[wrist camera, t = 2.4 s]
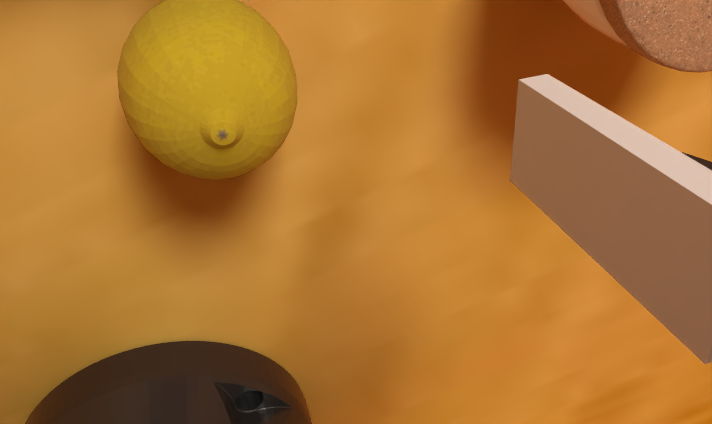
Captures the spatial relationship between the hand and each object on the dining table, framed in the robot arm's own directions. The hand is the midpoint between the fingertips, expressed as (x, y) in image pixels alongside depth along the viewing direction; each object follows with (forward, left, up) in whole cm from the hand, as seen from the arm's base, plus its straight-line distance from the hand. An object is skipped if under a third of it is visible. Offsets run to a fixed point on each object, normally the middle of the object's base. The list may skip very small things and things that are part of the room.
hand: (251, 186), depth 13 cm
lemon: (0, 0, -12) cm, 12 cm away
